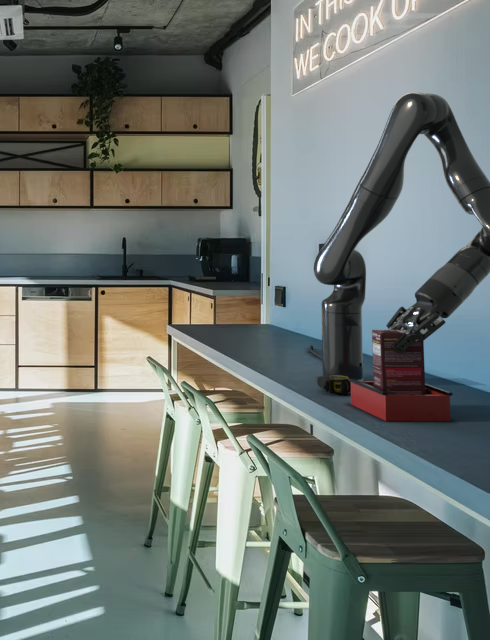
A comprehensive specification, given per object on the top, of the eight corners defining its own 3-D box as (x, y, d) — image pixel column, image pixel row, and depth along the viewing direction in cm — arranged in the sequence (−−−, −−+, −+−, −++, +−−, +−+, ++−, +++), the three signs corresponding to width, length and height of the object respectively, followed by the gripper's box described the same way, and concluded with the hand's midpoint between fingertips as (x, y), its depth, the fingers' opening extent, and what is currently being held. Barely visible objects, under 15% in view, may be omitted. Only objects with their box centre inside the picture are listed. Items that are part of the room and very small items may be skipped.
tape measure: (316, 389, 172) (316, 373, 173) (347, 390, 171) (346, 374, 171) (323, 395, 166) (323, 379, 166) (356, 396, 165) (355, 380, 165)
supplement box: (415, 405, 152) (413, 329, 152) (426, 411, 147) (425, 332, 147) (371, 405, 152) (370, 328, 153) (381, 410, 147) (380, 331, 148)
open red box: (348, 404, 157) (348, 378, 157) (412, 404, 157) (411, 378, 157) (383, 421, 142) (382, 392, 142) (453, 421, 142) (452, 392, 142)
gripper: (413, 275, 158) (358, 331, 157) (453, 279, 143) (393, 340, 143) (438, 300, 157) (383, 356, 157) (481, 306, 143) (421, 368, 143)
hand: (388, 348), depth 150 cm, fingers closed on supplement box, 5 cm apart
